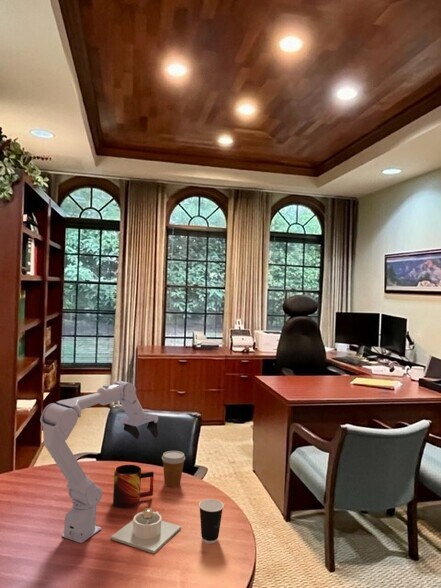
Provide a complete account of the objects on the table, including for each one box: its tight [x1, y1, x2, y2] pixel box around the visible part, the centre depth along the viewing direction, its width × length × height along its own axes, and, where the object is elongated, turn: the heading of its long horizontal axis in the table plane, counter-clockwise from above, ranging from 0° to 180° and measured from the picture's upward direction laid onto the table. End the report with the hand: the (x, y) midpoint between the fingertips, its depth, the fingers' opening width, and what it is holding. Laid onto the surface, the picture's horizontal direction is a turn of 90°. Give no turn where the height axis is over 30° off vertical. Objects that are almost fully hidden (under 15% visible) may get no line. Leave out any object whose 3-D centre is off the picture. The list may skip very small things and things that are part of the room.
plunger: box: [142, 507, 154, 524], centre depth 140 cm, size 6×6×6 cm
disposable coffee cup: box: [161, 450, 186, 488], centre depth 178 cm, size 10×10×12 cm
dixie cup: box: [198, 498, 225, 545], centre depth 139 cm, size 8×8×11 cm
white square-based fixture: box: [110, 511, 182, 554], centre depth 140 cm, size 16×16×5 cm
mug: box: [112, 464, 155, 510], centre depth 162 cm, size 10×14×12 cm
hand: (147, 436), depth 162 cm, fingers open, 7 cm apart
